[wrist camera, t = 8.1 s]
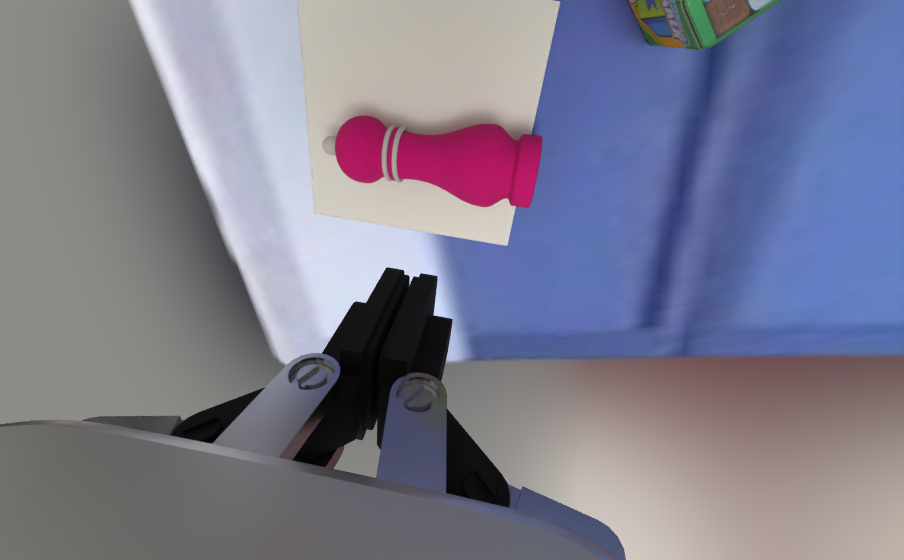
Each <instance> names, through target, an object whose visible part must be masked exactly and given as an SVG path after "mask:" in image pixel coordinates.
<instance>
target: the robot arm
mask: <svg viewBox="0 0 904 560" xmlns="http://www.w3.org/2000/svg"><path fill="white" fill-rule="evenodd" d="M436 288H437V276H433V275H428V274H422V273H421V274H420V276H419V277H413V279H412V281H411V284H410V286H409V276H408V275H404V270H399V269H394V268H388V267H387V268H386V269H385V271H384V273H383V274H382V276H381V278H380V280H379V281H378V283H377V285H376V287H375V288H374V290H373V292H372V294H371V295H370V297H369V299H368V301H367V302H366V303H362V302H357V301H356V302H354V303H353V305H352V306H351V308H350V309H349V311H348V312H347V314H346V316H345V317H344V319H343V320H342V322H341V324H340V325H339V327H338V328H337V330H336V332H335V333H334V335H333V336H332V338H331V340H330V341H329V343H328V344H327V346H326V348H325V349H324V351H323V352H322V354H321V353H311V354H306V355H302V356H300V357H298V358H296V359H294V360H292V361H291V362H290V363H289V364H287V365H286V367H285V368H284V369H283V370H282V371H281V372H280V373H279V374H278V375H277V376H276V377H275V378H274V379H273V380H272V381H271V382H270V383H269V385H267V387H265V388H262V389H260V390H257V391H254V392H252V393H249V394H246V395H244V396H241V397H238V398H236V399H233V400H231V401H228V402H225V403H223V404H220V405H217V406H215V407H212V408H209V409H207V410H204V411H201V412H199V413H197V414H194V415H192V416H190V417H189V418H187V419H186V420H181V417H180V416H100V417H93V418H88V419H85V420H82V421H73V420H31V421H23V422H15V423H6V424H0V560H626V558H625V553H624V548H623V546H622V544H621V542H620V541H619V539H618V537H617V536H616V534H615V533H614V532H613V531H612V530H611V529H610V528H609V527H608V526H606V525H605V524H603V523H602V522H600V521H599V520H597V519H594V518H592V517H590V516H588V515H586V514H583V513H581V512H579V511H577V510H574V509H572V508H570V507H568V506H565V505H563V504H561V503H559V502H557V501H554V500H552V499H550V498H548V497H545V496H543V495H541V494H539V493H536V492H534V491H532V490H530V489H527V488H525V487H522V489H521V490H519V489H517V488H515V487H513V486H511V485H508V483H507V482H506V480H505V479H504V477H503V476H502V474H501V473H500V472H499V470H498V469H497V468H496V467H495V466H494V464H493V463H492V462H491V461H490V460H489V458H488V457H487V456H486V455H485V454H484V452H483V451H482V450H481V449H480V448H479V446H478V445H477V444H476V443H475V442H474V440H473V439H472V438H471V437H470V436H469V435H468V433H467V432H466V431H465V430H464V428H463V427H462V426H461V425H460V424H459V422H458V421H457V420H456V419H455V418H454V417H453V415H452V414H451V413H450V412H449V410H448V409H447V394H446V389H445V387H444V386H443V384H442V383H441V380H442V376H443V370H444V366H445V362H446V357H447V352H448V347H449V341H450V334H451V328H452V319H450V318H444V317H439V316H433V314H434V305H435V297H436ZM376 421H377V423H378V424H377V445H378V447H379V448H380V450H381V451H380V458H379V464H378V470H377V476H376V478H373V477H368V476H364V475H359V474H354V473H349V472H345V471H340V470H335V469H334V467H335V465H336V464H337V462H338V460H339V459H340V457H341V455H342V453H343V450H344V445H346V444H347V443H349V442H351V441H353V440H355V439H359V440H363V438H364V435H365V433H366V430H367V429H368V430H373V428H374V426H375V423H376Z"/></svg>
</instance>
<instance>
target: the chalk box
mask: <svg viewBox="0 0 904 560" xmlns="http://www.w3.org/2000/svg"><path fill="white" fill-rule="evenodd" d="M780 1H781V0H628V2H629V4H630V6H631V8H632V10H633V12H634V15H635V16H636V19H637V21H638V23H639V25H640V27H641V29H642V31H643V34H644V36H645V38H646V40H647V42H648V44H649V45H651V46H652V45H655V46H666V47H676V48H686V49H697V50H704V49H706V48H707V47H712V46H714V45H716V44H717V43H719V42H720V41H722V40H723V39H725V38H726V37H728V36H729V35H731V34H732V33H734V32H735V31H737V30H738V29H740V28H741V27H743V26H744V25H746V24H747V23H749V22H750V21H751V20H753V19H754V18H756V17H757V16H759V15H760V14H762V13H763V12H765V11H766V10H768V9H769V8H771V7H772V6H774V5H775V4H777V3H778V2H780Z"/></svg>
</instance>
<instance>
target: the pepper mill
mask: <svg viewBox="0 0 904 560" xmlns="http://www.w3.org/2000/svg"><path fill="white" fill-rule="evenodd" d="M322 146H323V149H324V151H325V152H326V153H327V154H329V155H332V156H334V155H336V159H337V162H338V164H339V167H340V168H341V170H342V171H343V173H344V174H345V175H346V176H348V177H349V178H351V179H352V180H354V181H357V182H361V183H368V184H369V183H374V182H376V181H378V180H379V179H381V178H383V177H385V179H386V180H387V181H396V182H397V183H401V182H402V181H403V180H404V179H411V180H419V181H423V182H427V183H430V184H433V185H435V186H438V187H440V188H441V189H443V190H445V191H447V192H449V193H450V194H452V195H454V196H455V197H457V198H459V199H460V200H462V201H464V202H467V203H469V204H471V205H475V206H480V207H490V206H492V205H494V204H496V203H497V202H499V201H501V200H502V199H508V200H509V203H510V205H511V206H517V207H523V208H529V207H530V204H531V201H532V197H533V193H534V189H535V184H536V179H537V174H538V169H539V164H540V157H541V149H542V137H541V136H537V135H529V134H523V135H521V137H520V138H519V140H514V139H513V138H512V137H511V136H510V135H509V134H508V132H507V131H506V130H505V129H504V128H503V127H501V126H500V125H497V124H478V125H472V126H469V127H466V128H463V129H460V130H457V131H454V132H449V133H445V134H437V135H425V134H417V133H412V132H408V130H407V128H406V127H404V126H401V127H397V126H395V125H391V126H390V127H389V128H387V127H386V126H385V125H384V124H383V123H382V122H381V121H380V120H378V119H377V118H375V117H371V116H363V115H362V116H355V117H353V118H350V119H348V120H347V121H346V122H345V123H344V124H343V125H342V126H341V127H340V129H339V131H338V133H337V136H336V137H335V136H328V137H326V138H325V139H324V140H323V144H322Z"/></svg>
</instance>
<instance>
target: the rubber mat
mask: <svg viewBox="0 0 904 560" xmlns="http://www.w3.org/2000/svg"><path fill="white" fill-rule="evenodd" d="M297 1H298V13H299V25H300V38H301V50H302V62H303V75H304V87H305V99H306V112H307V124H308V136H309V149H310V161H311V173H312V186H313V198H314V210H315V214H321V215H327V216H333V217H339V218H345V219H351V220H357V221H363V222H368V223H374V224H380V225H386V226H392V227H398V228H404V229H410V230H416V231H422V232H428V233H434V234H440V235H446V236H452V237H458V238H463V239H469V240H475V241H481V242H487V243H493V244H499V245H505V246H507V244H508V240H509V235H510V231H511V226H512V221H513V217H514V212H515V208H516V206H511V205H510V203H509V200H508V199H502V200H501V201H499V202H497V203H496V204H494V205H492V206H490V207H480V206H475V205H471V204H469V203H467V202H464V201H462V200H460V199H459V198H457V197H455V196H454V195H452V194H450V193H449V192H447V191H445V190H443V189H441V188H440V187H438V186H435V185H433V184H430V183H427V182H423V181H419V180H411V179H404V180H403V181H402V182H401V183H397V182H396V181H387V180H386V179H385V177H383V178H381V179H379V180H378V181H376V182H374V183H369V184H368V183H361V182H357V181H354V180H352V179H351V178H349V177H348V176H346V175H345V174H344V173H343V171H342V170H341V168H340V167H339V164H338V162H337V159H336V155H334V156H332V155H329V154H327V153H326V152H325V151H324V149H323V146H322V144H323V140H324V139H325V138H326V137H328V136H335V137H336V136H337V133H338V131H339V129H340V127H341V126H342V125H343V124H344V123H345V122H346V121H347V120H348V119H350V118H353V117H355V116H362V115H363V116H371V117H375V118H377V119H378V120H380V121H381V122H382V123H383V124H384V125H385V126H386V127H387V128H389V127H390V126H391V125H395V126H397V127H401V126H404V127H406V128H407V130H408V132H412V133H417V134H425V135H437V134H445V133H449V132H454V131H457V130H460V129H463V128H466V127H469V126H472V125H478V124H497V125H500V126H501V127H503V128H504V129H505V130H506V131H507V132H508V134H509V135H510V136H511V137H512V138H513V139H514V140H519V138H520V137H521V135H523V134H529V135H531V134H532V130H533V125H534V120H535V116H536V111H537V107H538V102H539V97H540V93H541V88H542V84H543V79H544V74H545V70H546V65H547V61H548V56H549V51H550V47H551V42H552V38H553V33H554V28H555V24H556V19H557V15H558V10H559V5H560V1H553V0H297Z"/></svg>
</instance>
